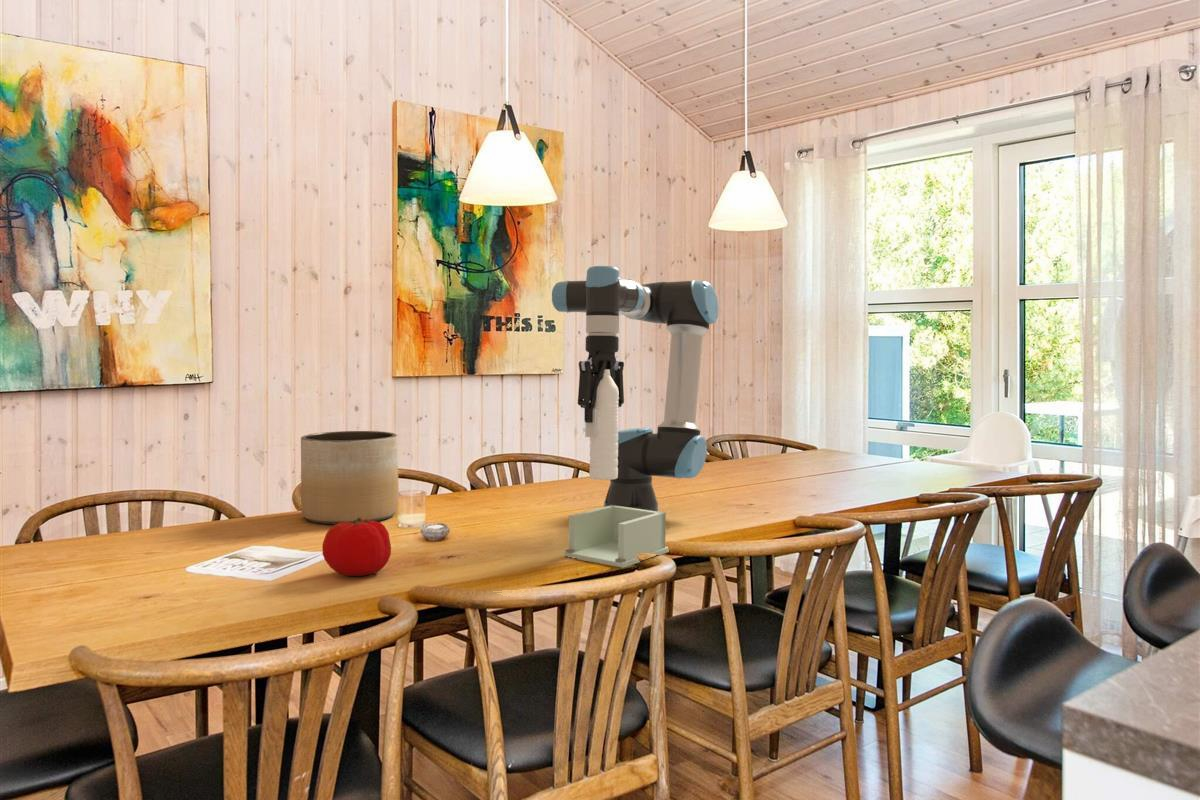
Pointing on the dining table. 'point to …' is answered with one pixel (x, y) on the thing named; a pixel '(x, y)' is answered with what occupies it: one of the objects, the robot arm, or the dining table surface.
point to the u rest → (616, 535)
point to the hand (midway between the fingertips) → (600, 436)
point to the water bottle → (605, 431)
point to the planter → (349, 476)
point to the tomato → (357, 547)
